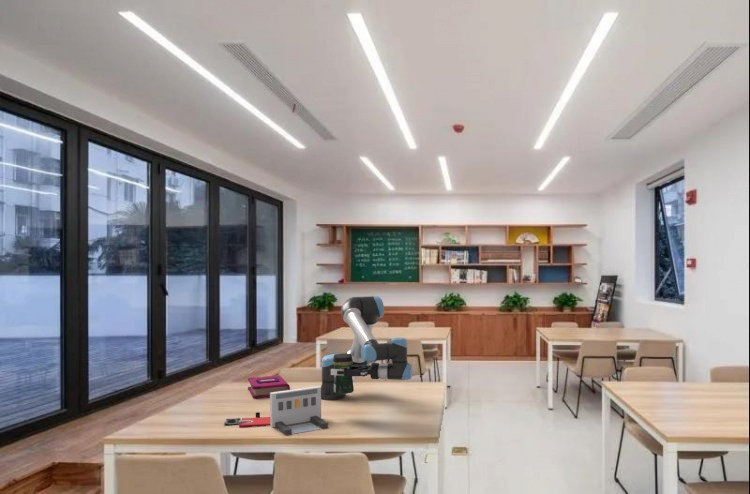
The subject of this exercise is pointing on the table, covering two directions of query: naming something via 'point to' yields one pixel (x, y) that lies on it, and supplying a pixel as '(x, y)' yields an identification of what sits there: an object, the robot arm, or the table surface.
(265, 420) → the red board with handle
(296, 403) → the breaker panel
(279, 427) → the cord cover
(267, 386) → the book
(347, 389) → the coffee jar
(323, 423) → the cord cover
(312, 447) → the table surface
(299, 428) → the pad
